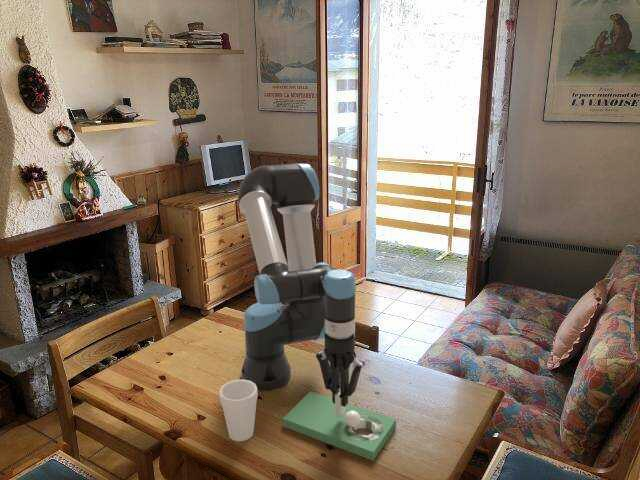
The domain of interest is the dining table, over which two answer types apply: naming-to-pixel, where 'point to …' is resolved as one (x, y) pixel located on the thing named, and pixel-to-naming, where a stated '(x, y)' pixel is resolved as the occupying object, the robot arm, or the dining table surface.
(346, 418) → the ball
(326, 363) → the robot arm
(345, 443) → the green
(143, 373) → the dining table surface
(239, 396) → the foam cup
